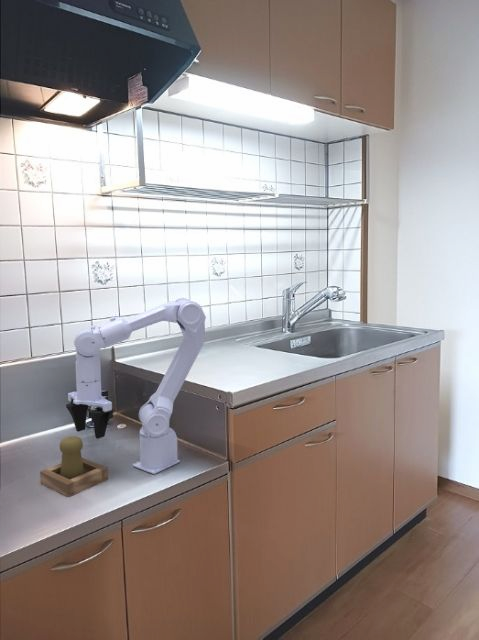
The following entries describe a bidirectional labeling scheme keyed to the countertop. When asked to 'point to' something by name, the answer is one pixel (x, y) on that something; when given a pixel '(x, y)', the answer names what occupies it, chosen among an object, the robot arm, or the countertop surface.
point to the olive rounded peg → (71, 457)
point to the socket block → (77, 484)
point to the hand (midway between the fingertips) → (90, 433)
